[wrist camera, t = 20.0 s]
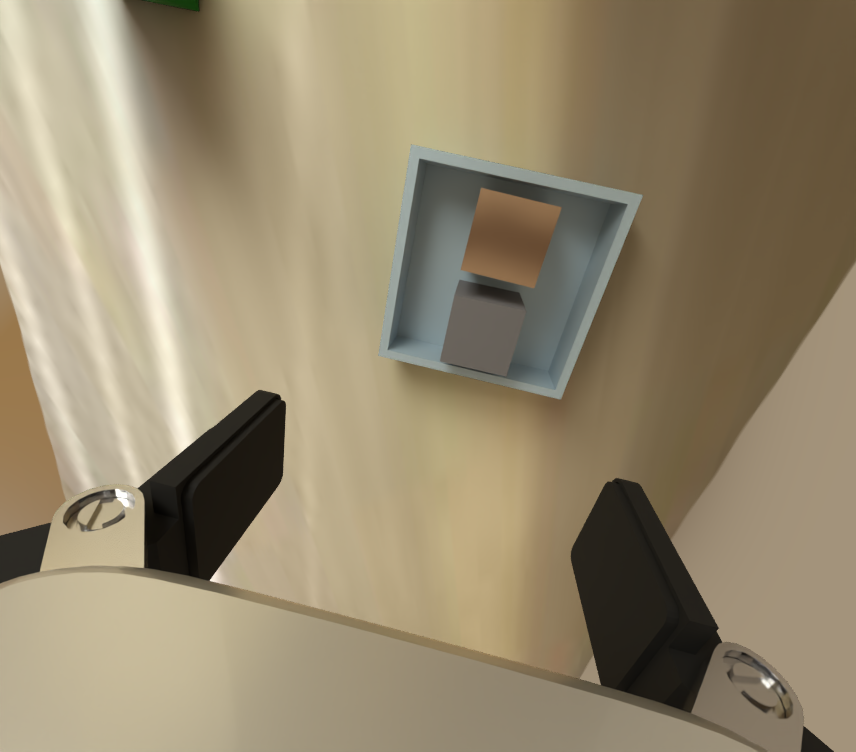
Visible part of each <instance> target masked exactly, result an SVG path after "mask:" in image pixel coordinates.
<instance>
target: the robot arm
mask: <svg viewBox="0 0 856 752" xmlns="http://www.w3.org/2000/svg"><path fill="white" fill-rule="evenodd" d="M285 414H286V403H285V401H282V400H281V397H280V395H279V394H275V393H271V392H267V391H263V390H258V391H256V392H255V393H254V394H253V395H252V396H250V397H249V398H248V399H247V400H246V401H244V402H243V403H242V404H241V405H239V406H238V407H237V408H236V409H235V410H233V411H232V412H231V413H230V414H229V415H227V416H226V417H225V418H224V419H223V420H221V421H220V422H219V423H218V424H217V425H215V426H214V427H213V428H211V429H209V430H208V431H207V432H205V433H204V434H203V435H202V436H201V437H199V438H198V439H197V440H196V441H195V442H193V443H192V444H191V445H190V446H188V447H187V448H186V449H185V450H184V451H182V452H181V453H180V454H179V455H178V456H176V457H175V458H174V459H173V460H172V461H170V462H169V463H168V464H167V465H165V466H164V467H163V468H162V469H161V470H159V471H158V472H157V473H156V474H155V475H153V476H152V477H151V478H150V479H149V480H147V481H146V482H145V483H144V484H142V485H141V486H140V487H139V488H138V489H137V488H135V487H132V486H129V485H121V484H113V485H104V486H100V487H96V488H92V489H89V490H87V491H84V492H82V493H80V494H77V495H76V496H74V497H73V498H71V499H69V500H68V501H66V502H65V503H64V504H63V505H62V506H61V507H60V508H59V509H58V510H57V511H56V513H55V515H54V517H53V519H52V522H51V523H48V524H44V525H40V526H36V527H32V528H28V529H24V530H20V531H17V532H13V533H9V534H5V535H1V536H0V752H834V751H833V750H831V749H830V748H829V747H828V746H827V745H825V744H824V743H823V742H822V741H821V740H820V739H818V738H817V737H816V736H815V735H814V734H813V733H811V732H810V731H809V730H808V729H807V728H806V727H804V726H803V724H804V716H803V709H802V706H801V704H800V702H799V700H798V697H797V695H796V694H795V692H794V691H793V690H792V688H791V687H790V685H789V684H788V682H787V681H786V680H785V679H784V678H783V677H782V675H781V674H780V673H779V672H778V671H777V670H776V669H775V668H774V667H773V666H772V665H770V664H769V663H768V662H767V661H766V660H765V659H763V658H762V657H761V656H759V655H758V654H756V653H754V652H753V651H751V650H750V649H748V648H746V647H743V646H741V645H739V644H736V643H731V642H724V643H722V641H721V639H720V637H719V635H718V633H717V630H718V626H717V624H716V623H715V620H714V619H713V617H712V615H711V613H710V611H709V609H708V608H707V606H706V604H705V602H704V600H703V598H702V597H701V595H700V593H699V591H698V590H697V587H696V586H695V584H694V582H693V580H692V578H691V577H690V575H689V573H688V571H687V569H686V568H685V566H684V564H683V562H682V560H681V558H680V557H679V555H678V553H677V551H676V549H675V547H674V546H673V544H672V542H671V540H670V538H669V536H668V535H667V533H666V531H665V529H664V527H663V525H662V524H661V522H660V520H659V518H658V516H657V514H656V513H655V511H654V509H653V507H652V505H651V504H650V502H649V500H648V498H647V496H646V494H645V493H644V491H643V489H642V487H641V486H640V484H638V483H635V482H631V481H627V480H623V479H619V478H616V479H614V480H613V481H612V482H607V483H606V484H605V486H604V487H603V489H602V491H601V493H600V495H599V497H598V499H597V501H596V503H595V505H594V507H593V509H592V511H591V513H590V514H589V516H588V518H587V520H586V522H585V524H584V526H583V528H582V530H581V532H580V534H579V536H578V538H577V540H576V541H575V543H574V545H573V548H572V551H571V562H572V566H573V570H574V574H575V579H576V583H577V587H578V591H579V595H580V599H581V604H582V608H583V612H584V616H585V620H586V624H587V629H588V633H589V637H590V641H591V645H592V649H593V654H594V658H595V662H596V666H597V670H598V674H599V678H600V683H601V685H598V684H595V683H591V682H588V681H584V680H581V679H577V678H573V677H570V676H566V675H563V674H559V673H555V672H552V671H548V670H544V669H541V668H537V667H533V666H530V665H526V664H522V663H519V662H515V661H511V660H508V659H504V658H501V657H497V656H493V655H490V654H486V653H482V652H479V651H475V650H471V649H467V648H464V647H460V646H456V645H453V644H449V643H445V642H441V641H438V640H434V639H430V638H427V637H423V636H419V635H415V634H412V633H408V632H404V631H400V630H397V629H393V628H389V627H385V626H382V625H378V624H374V623H371V622H367V621H363V620H359V619H356V618H352V617H348V616H344V615H340V614H336V613H333V612H329V611H325V610H321V609H317V608H314V607H310V606H306V605H302V604H298V603H294V602H291V601H287V600H283V599H279V598H275V597H272V596H268V595H264V594H260V593H256V592H252V591H248V590H244V589H240V588H236V587H232V586H228V585H224V584H220V583H215V582H211V581H209V580H210V579H211V578H212V576H213V575H214V574H215V572H216V571H217V569H218V568H219V567H220V565H221V564H222V563H223V561H224V560H225V558H226V557H227V556H228V554H229V553H230V552H231V550H232V549H233V547H234V546H235V545H236V543H237V542H238V541H239V539H240V538H241V536H242V535H243V534H244V532H245V531H246V530H247V528H248V527H249V525H250V524H251V523H252V521H253V520H254V519H255V517H256V516H257V514H258V513H259V512H260V510H261V509H262V508H263V506H264V505H265V503H266V502H267V501H268V499H269V498H270V497H271V495H272V494H273V492H274V491H275V490H276V488H277V487H278V485H279V484H280V482H281V479H282V476H283V461H284V437H285Z"/></svg>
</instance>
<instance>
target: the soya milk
mask: <svg viewBox="0 0 856 752" xmlns="http://www.w3.org/2000/svg"><path fill="white" fill-rule="evenodd" d="M143 1H148V2H153V3H158V4H163V5H168V6H173V7H179V8H184V9H189V10H194V11H199V1H198V0H143Z"/></svg>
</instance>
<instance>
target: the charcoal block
mask: <svg viewBox="0 0 856 752" xmlns="http://www.w3.org/2000/svg"><path fill="white" fill-rule="evenodd" d="M525 315H526V308H525V306H524V303H523V301H522V298H521V295H520V293H519V292H514V291H509V290H505V289H500V288H496V287H491V286H487V285H482V284H477V283H473V282H468V281H464V280H459V282H458V286H457V289H456V292H455V295H454V299H453V303H452V308H451V312H450V317H449V322H448V326H447V331H446V335H445V340H444V344H443V349H442V353H441V358H440V361H441V362H445V363H449V364H454V365H458V366H462V367H467V368H471V369H475V370H480V371H484V372H489V373H493V374H497V375H502V376H507V373H508V370H509V366H510V363H511V360H512V357H513V353H514V350H515V347H516V344H517V340H518V337H519V334H520V331H521V328H522V324H523V321H524V318H525Z"/></svg>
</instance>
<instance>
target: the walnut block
mask: <svg viewBox="0 0 856 752" xmlns="http://www.w3.org/2000/svg"><path fill="white" fill-rule="evenodd" d="M561 208H562V207H558V206H554V205H550V204H546V203H542V202H538V201H534V200H529V199H525V198H521V197H517V196H513V195H509V194H505V193H501V192H497V191H492V190H488V189H484V188H481V190H480V194H479V198H478V202H477V206H476V210H475V214H474V218H473V222H472V226H471V230H470V234H469V238H468V242H467V246H466V250H465V254H464V258H463V262H462V266H461V270H463V271H467V272H471V273H475V274H479V275H483V276H487V277H491V278H495V279H499V280H503V281H507V282H511V283H515V284H519V285H523V286H527V287H531V288H534V287H535V285H536V282H537V279H538V276H539V273H540V270H541V267H542V264H543V261H544V258H545V255H546V252H547V249H548V247H549V244H550V241H551V238H552V235H553V232H554V229H555V226H556V223H557V220H558V217H559V214H560V211H561Z"/></svg>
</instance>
